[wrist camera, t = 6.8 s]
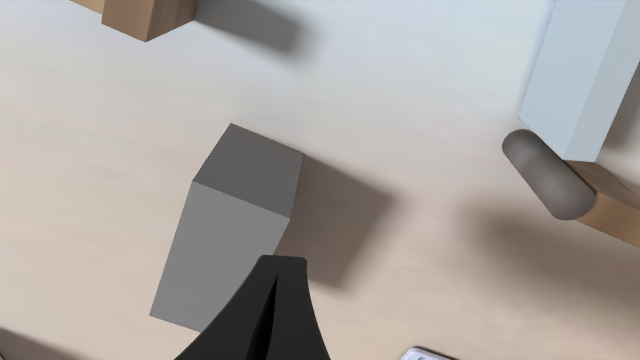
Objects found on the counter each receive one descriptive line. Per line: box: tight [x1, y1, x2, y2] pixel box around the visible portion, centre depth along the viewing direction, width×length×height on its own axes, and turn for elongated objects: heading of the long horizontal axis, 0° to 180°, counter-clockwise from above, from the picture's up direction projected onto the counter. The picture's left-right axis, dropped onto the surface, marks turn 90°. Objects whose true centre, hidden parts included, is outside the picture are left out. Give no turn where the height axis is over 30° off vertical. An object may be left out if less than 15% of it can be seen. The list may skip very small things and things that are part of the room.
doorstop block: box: [149, 123, 304, 333], centre depth 20 cm, size 4×8×6 cm, turn 156°
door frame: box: [70, 0, 640, 248], centre depth 17 cm, size 28×2×5 cm, turn 66°
